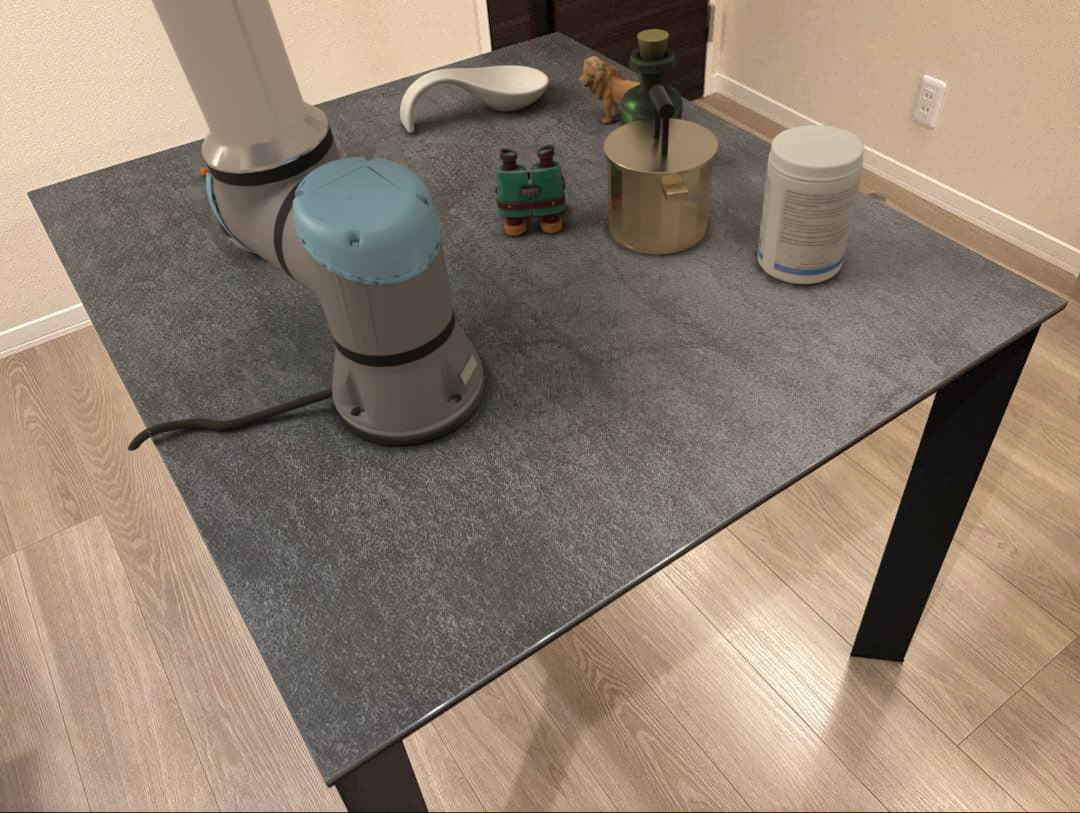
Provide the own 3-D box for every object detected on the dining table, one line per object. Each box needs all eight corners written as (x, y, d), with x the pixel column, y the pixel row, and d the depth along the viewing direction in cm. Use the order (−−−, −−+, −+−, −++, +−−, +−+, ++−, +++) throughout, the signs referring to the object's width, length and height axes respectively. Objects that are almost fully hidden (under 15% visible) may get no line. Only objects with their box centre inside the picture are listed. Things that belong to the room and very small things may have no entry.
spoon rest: (532, 80, 136) (528, 35, 131) (562, 108, 128) (559, 61, 123) (394, 116, 130) (385, 70, 125) (417, 147, 122) (408, 100, 117)
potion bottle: (624, 188, 110) (624, 51, 97) (615, 158, 116) (614, 26, 103) (685, 182, 110) (693, 44, 97) (673, 152, 116) (679, 19, 103)
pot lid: (615, 189, 91) (614, 128, 86) (595, 134, 100) (593, 76, 95) (730, 174, 91) (737, 112, 86) (700, 121, 101) (704, 63, 96)
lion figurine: (575, 121, 124) (572, 61, 118) (594, 107, 127) (592, 48, 121) (661, 142, 118) (663, 80, 112) (679, 126, 121) (682, 65, 114)
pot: (623, 273, 96) (623, 193, 89) (597, 197, 109) (596, 121, 101) (724, 260, 97) (732, 179, 89) (687, 185, 109) (692, 109, 102)
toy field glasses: (561, 122, 103) (565, 153, 96) (565, 201, 110) (569, 235, 102) (490, 128, 104) (488, 159, 96) (498, 206, 110) (497, 241, 102)
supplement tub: (859, 266, 94) (888, 146, 84) (799, 299, 91) (821, 178, 80) (796, 230, 100) (816, 114, 90) (737, 259, 97) (751, 142, 86)
